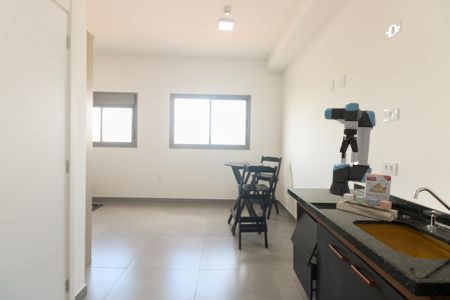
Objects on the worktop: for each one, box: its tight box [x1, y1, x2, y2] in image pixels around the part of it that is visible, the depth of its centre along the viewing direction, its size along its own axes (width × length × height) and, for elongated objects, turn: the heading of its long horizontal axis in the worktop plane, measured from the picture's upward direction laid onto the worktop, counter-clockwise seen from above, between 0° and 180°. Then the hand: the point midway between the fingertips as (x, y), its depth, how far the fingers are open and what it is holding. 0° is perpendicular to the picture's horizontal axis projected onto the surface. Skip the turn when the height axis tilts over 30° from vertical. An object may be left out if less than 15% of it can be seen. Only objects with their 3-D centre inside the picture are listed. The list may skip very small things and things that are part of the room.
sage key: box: [354, 195, 366, 206], centre depth 167 cm, size 4×4×6 cm
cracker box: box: [363, 173, 392, 207], centre depth 180 cm, size 14×6×21 cm, turn 68°
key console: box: [335, 200, 399, 222], centre depth 165 cm, size 12×30×4 cm, turn 42°
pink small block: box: [380, 200, 393, 212], centre depth 156 cm, size 4×4×6 cm
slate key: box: [367, 198, 378, 209], centre depth 162 cm, size 4×4×6 cm
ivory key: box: [343, 193, 355, 204], centre depth 172 cm, size 4×4×6 cm
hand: (348, 163), depth 171 cm, fingers open, 13 cm apart
